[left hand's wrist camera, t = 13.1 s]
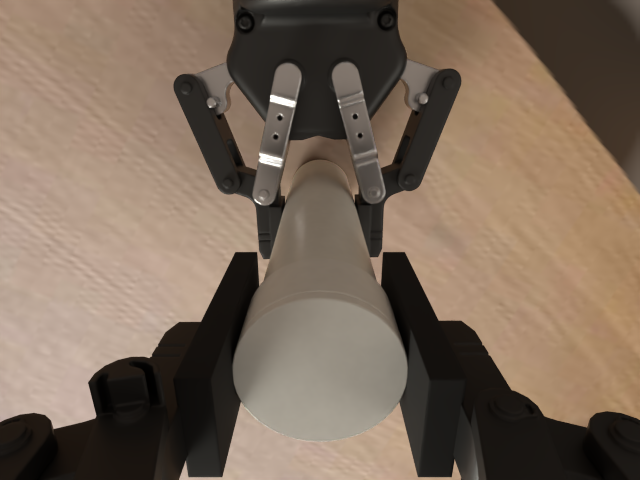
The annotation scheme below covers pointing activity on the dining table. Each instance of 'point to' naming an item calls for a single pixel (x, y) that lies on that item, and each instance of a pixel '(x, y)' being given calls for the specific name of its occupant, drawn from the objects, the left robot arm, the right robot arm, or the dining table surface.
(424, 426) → the left robot arm
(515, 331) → the dining table surface
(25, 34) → the dining table surface
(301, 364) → the lid
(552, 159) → the dining table surface
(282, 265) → the white tall cylinder
